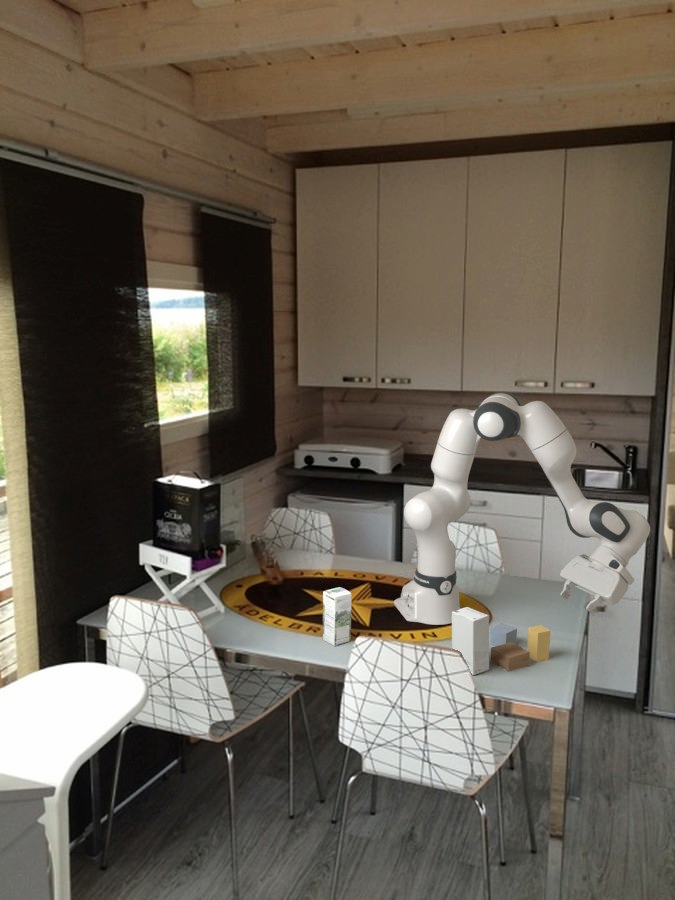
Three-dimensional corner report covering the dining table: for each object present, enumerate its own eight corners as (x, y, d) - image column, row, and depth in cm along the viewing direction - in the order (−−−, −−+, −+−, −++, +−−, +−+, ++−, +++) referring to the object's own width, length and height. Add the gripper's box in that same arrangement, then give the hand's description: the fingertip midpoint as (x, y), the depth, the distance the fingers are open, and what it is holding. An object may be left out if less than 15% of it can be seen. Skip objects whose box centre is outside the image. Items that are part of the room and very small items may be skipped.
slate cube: (490, 645, 220) (490, 628, 220) (500, 640, 224) (501, 623, 223) (505, 651, 217) (506, 633, 216) (516, 645, 220) (517, 628, 219)
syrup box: (338, 634, 226) (339, 585, 224) (351, 642, 222) (352, 592, 219) (322, 639, 223) (322, 590, 220) (334, 647, 218) (335, 596, 216)
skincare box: (489, 670, 205) (491, 615, 202) (472, 676, 202) (474, 620, 199) (466, 658, 212) (468, 605, 209) (449, 664, 209) (451, 610, 206)
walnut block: (490, 661, 211) (490, 647, 210) (510, 656, 214) (511, 642, 213) (508, 672, 205) (508, 657, 204) (529, 666, 208) (529, 652, 207)
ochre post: (527, 655, 214) (528, 627, 212) (539, 653, 216) (540, 625, 214) (536, 661, 210) (537, 633, 209) (548, 659, 212) (550, 630, 210)
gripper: (574, 545, 225) (543, 583, 223) (627, 568, 207) (594, 609, 205) (585, 559, 228) (555, 596, 226) (639, 582, 209) (607, 623, 207)
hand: (574, 603), depth 215 cm, fingers open, 8 cm apart
